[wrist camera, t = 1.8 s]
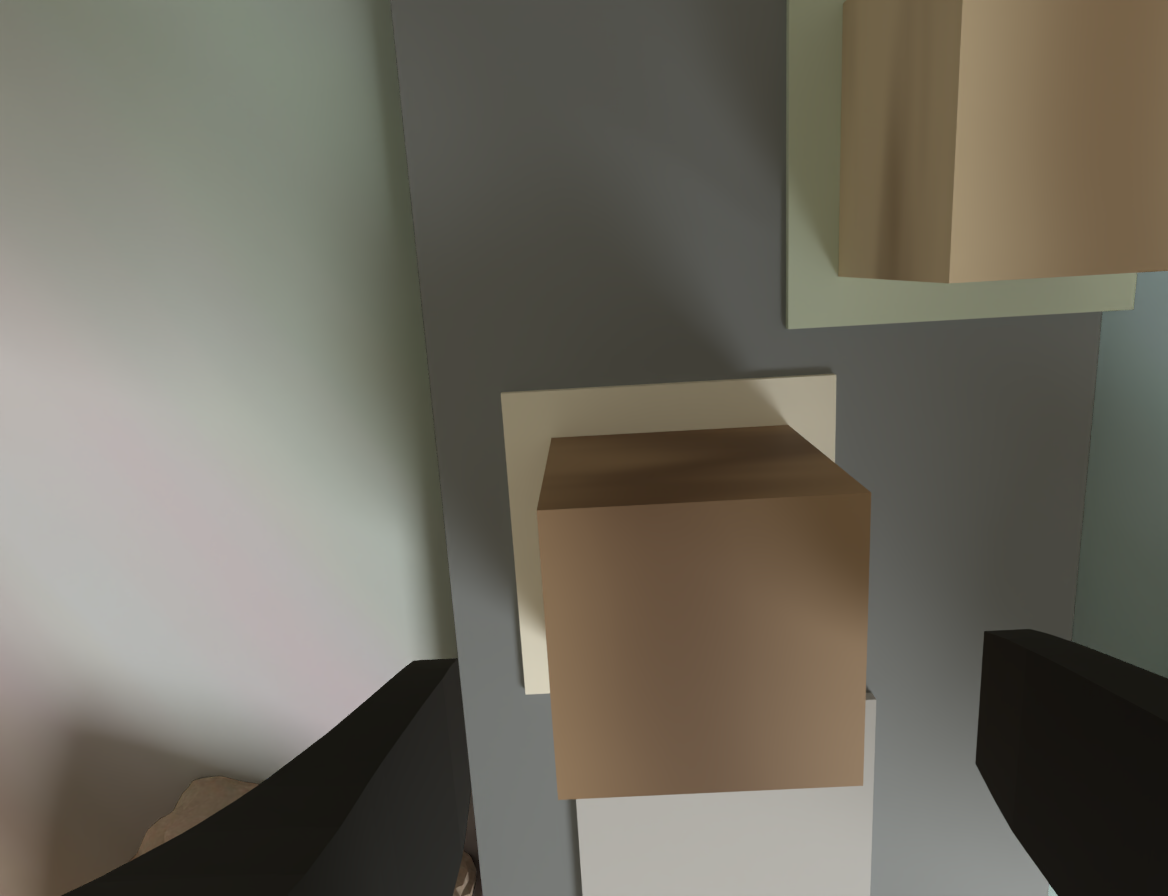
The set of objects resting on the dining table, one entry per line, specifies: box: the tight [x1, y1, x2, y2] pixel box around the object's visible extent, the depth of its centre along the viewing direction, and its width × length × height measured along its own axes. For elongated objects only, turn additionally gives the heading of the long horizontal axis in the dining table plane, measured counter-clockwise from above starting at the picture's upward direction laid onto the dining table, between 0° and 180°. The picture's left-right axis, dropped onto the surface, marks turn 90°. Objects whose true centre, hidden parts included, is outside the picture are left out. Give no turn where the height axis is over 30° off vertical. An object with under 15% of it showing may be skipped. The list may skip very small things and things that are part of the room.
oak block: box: [838, 0, 1168, 283], centre depth 13 cm, size 5×5×5 cm
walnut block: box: [537, 425, 871, 800], centre depth 15 cm, size 5×5×5 cm
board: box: [390, 0, 1137, 896], centre depth 18 cm, size 14×24×1 cm, turn 3°
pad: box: [576, 692, 876, 896], centre depth 19 cm, size 7×7×1 cm
